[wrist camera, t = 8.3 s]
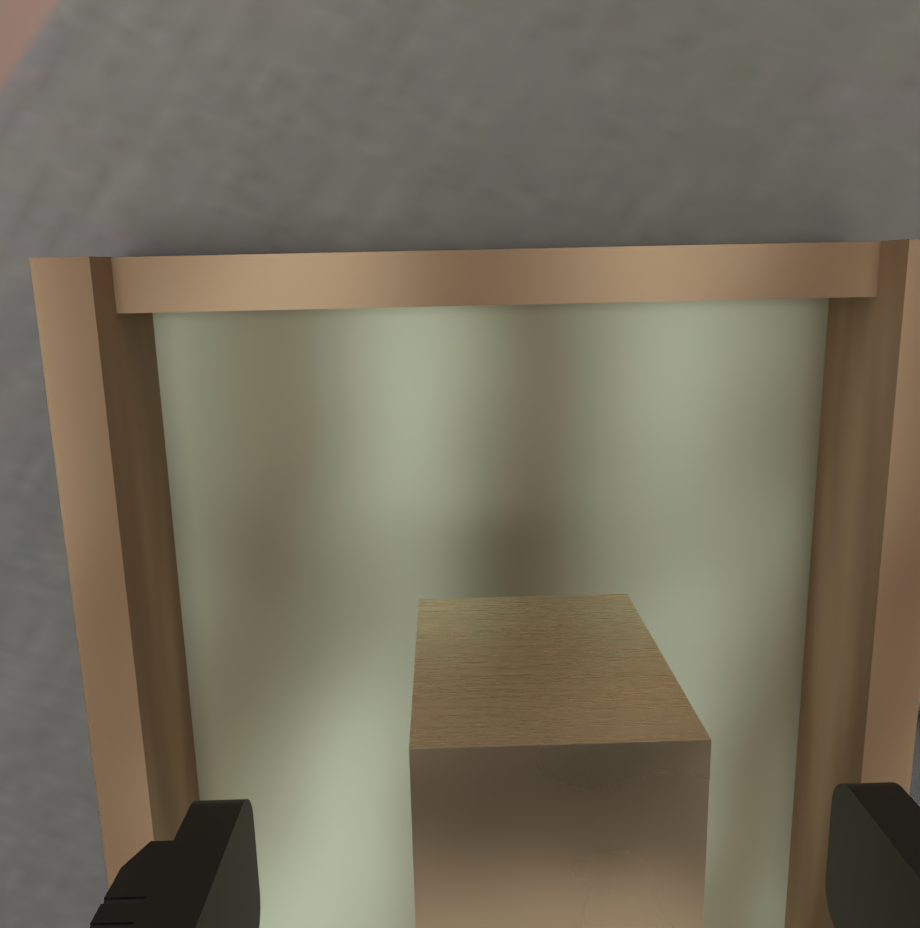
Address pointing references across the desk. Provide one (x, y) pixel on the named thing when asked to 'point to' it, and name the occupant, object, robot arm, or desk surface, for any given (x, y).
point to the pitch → (484, 527)
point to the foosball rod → (553, 769)
